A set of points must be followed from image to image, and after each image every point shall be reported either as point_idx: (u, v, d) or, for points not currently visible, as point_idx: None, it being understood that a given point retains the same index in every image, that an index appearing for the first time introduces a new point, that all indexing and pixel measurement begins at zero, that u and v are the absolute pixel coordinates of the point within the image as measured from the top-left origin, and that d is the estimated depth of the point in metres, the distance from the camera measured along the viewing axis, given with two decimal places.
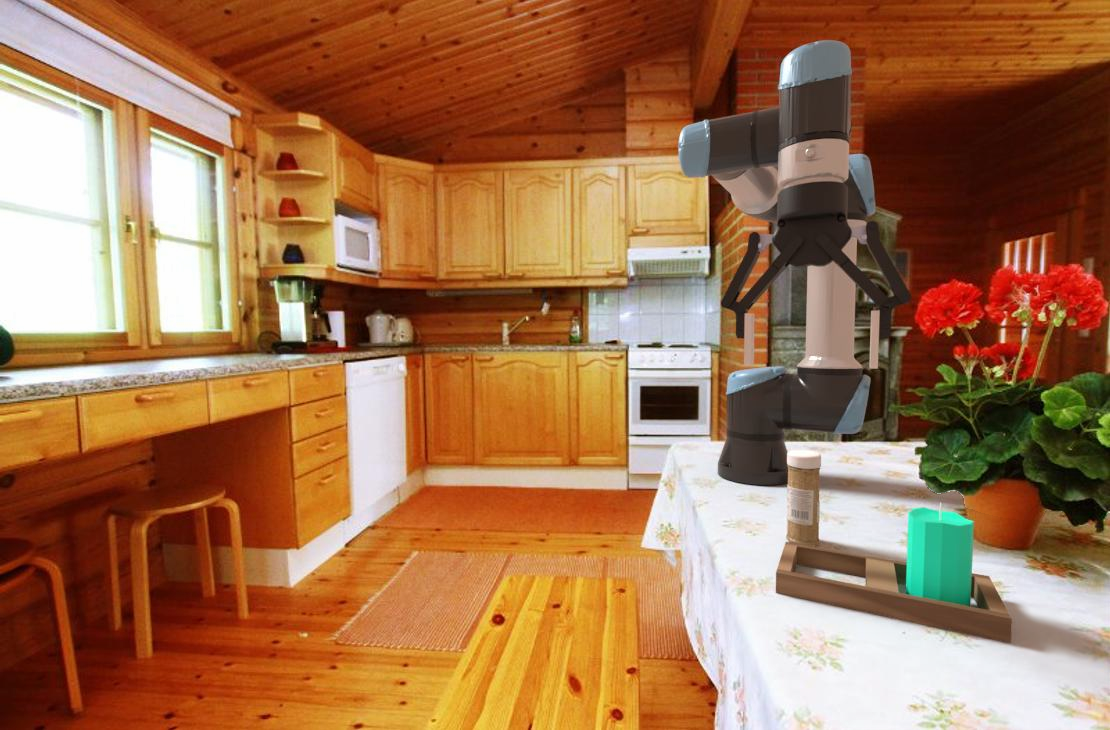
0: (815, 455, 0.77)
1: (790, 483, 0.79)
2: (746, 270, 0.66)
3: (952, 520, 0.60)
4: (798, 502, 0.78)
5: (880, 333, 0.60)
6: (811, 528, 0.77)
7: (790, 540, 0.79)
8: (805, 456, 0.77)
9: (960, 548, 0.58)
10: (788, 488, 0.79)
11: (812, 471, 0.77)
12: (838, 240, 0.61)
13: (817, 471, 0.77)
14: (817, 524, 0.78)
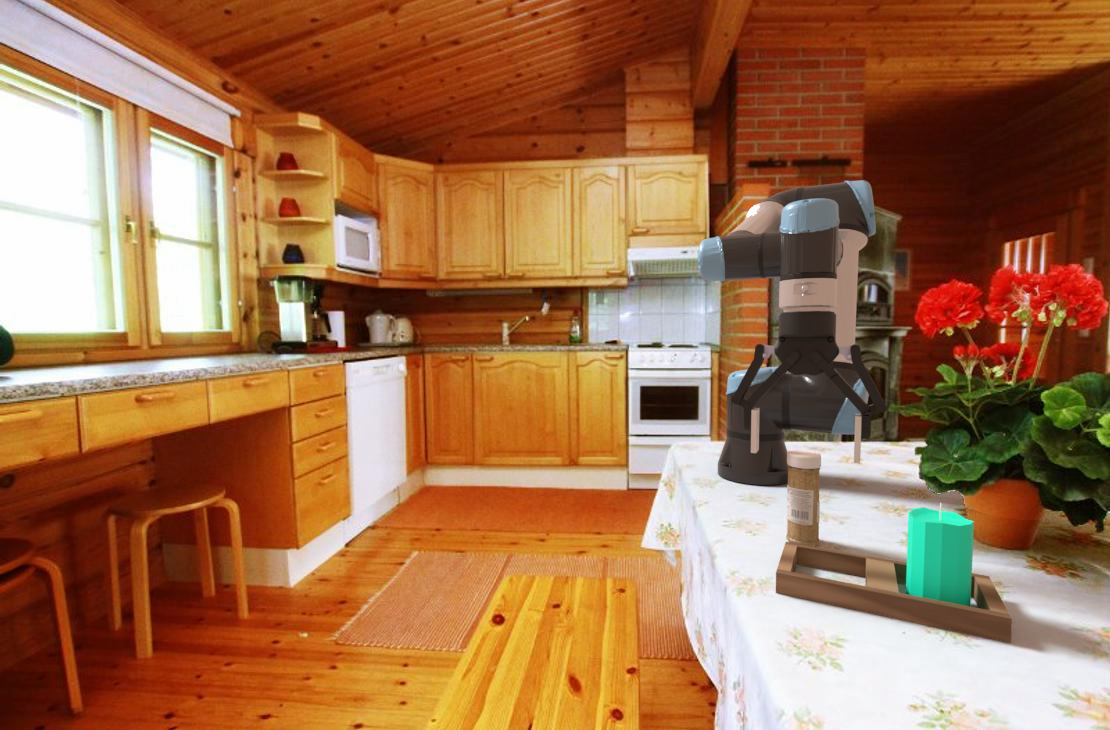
0: (815, 455, 0.77)
1: (790, 483, 0.79)
2: (753, 374, 0.80)
3: (952, 520, 0.60)
4: (798, 502, 0.78)
5: (862, 434, 0.74)
6: (811, 528, 0.77)
7: (790, 540, 0.79)
8: (805, 456, 0.77)
9: (960, 548, 0.58)
10: (788, 488, 0.79)
11: (812, 471, 0.77)
12: (828, 357, 0.75)
13: (817, 471, 0.77)
14: (817, 524, 0.78)
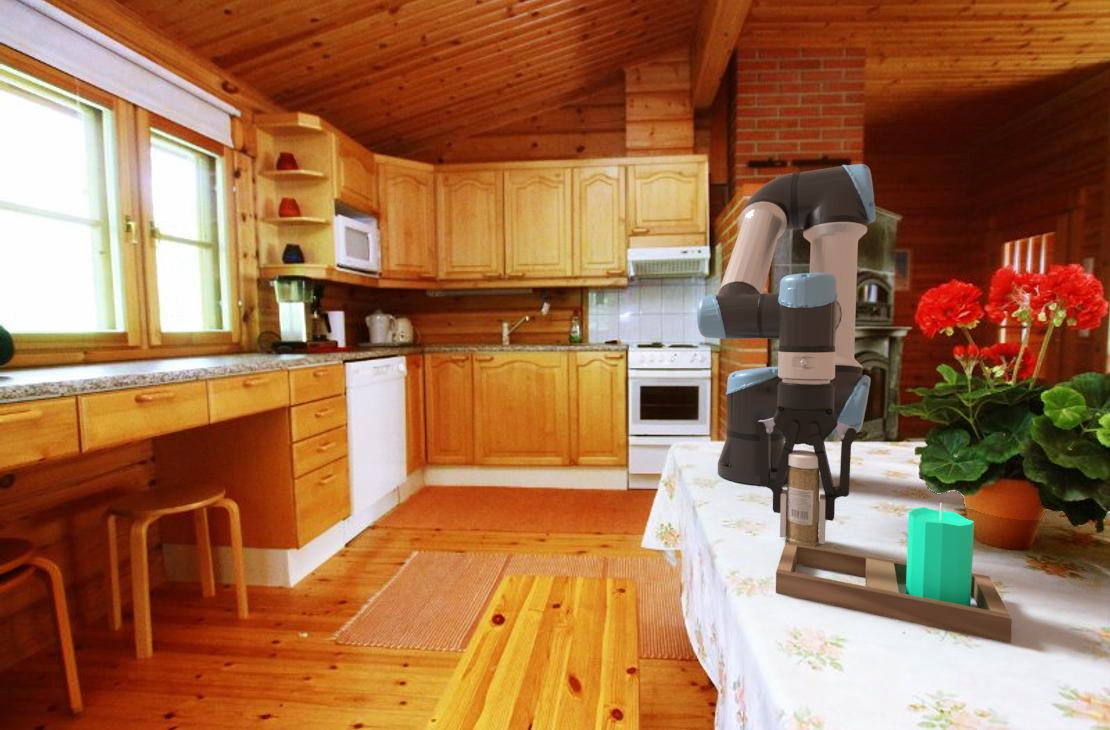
0: (815, 455, 0.77)
1: (790, 483, 0.79)
2: (767, 452, 0.80)
3: (952, 520, 0.60)
4: (798, 502, 0.78)
5: (826, 516, 0.77)
6: (811, 528, 0.77)
7: (790, 540, 0.79)
8: (805, 456, 0.77)
9: (960, 548, 0.58)
10: (788, 488, 0.79)
11: (812, 471, 0.77)
12: (823, 427, 0.76)
13: (817, 471, 0.77)
14: (817, 524, 0.78)
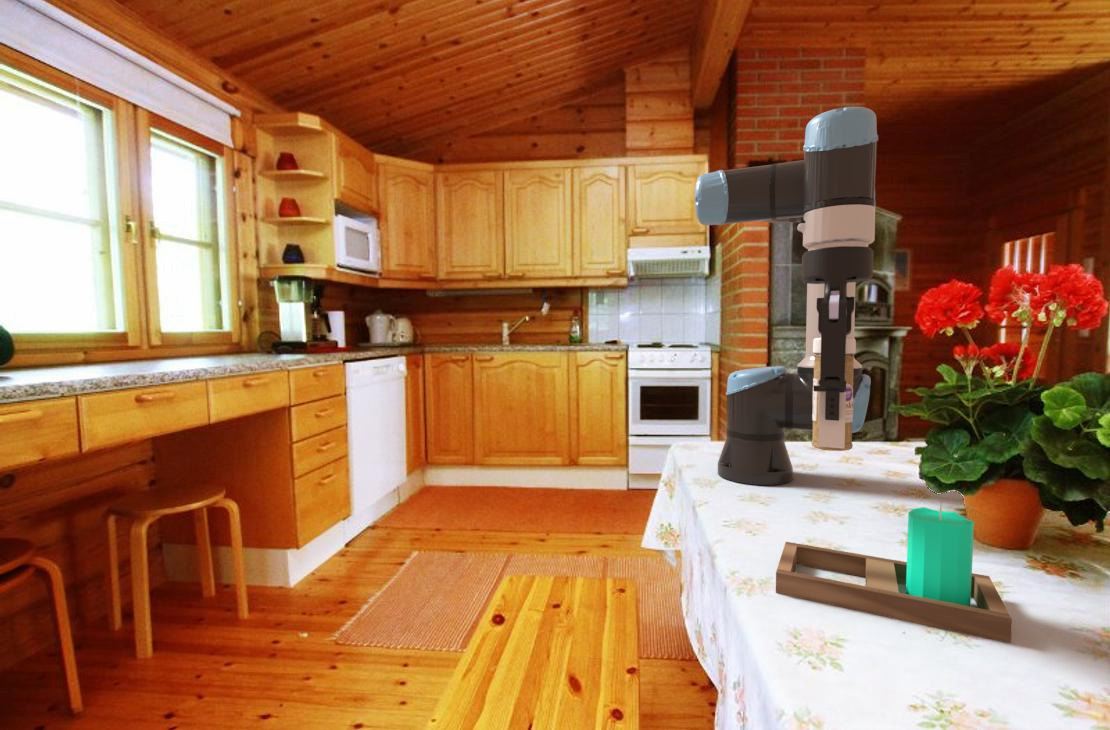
0: None
1: None
2: None
3: (952, 520, 0.60)
4: None
5: None
6: (816, 426, 0.65)
7: None
8: (815, 338, 0.65)
9: (960, 548, 0.58)
10: None
11: (816, 356, 0.64)
12: None
13: None
14: None
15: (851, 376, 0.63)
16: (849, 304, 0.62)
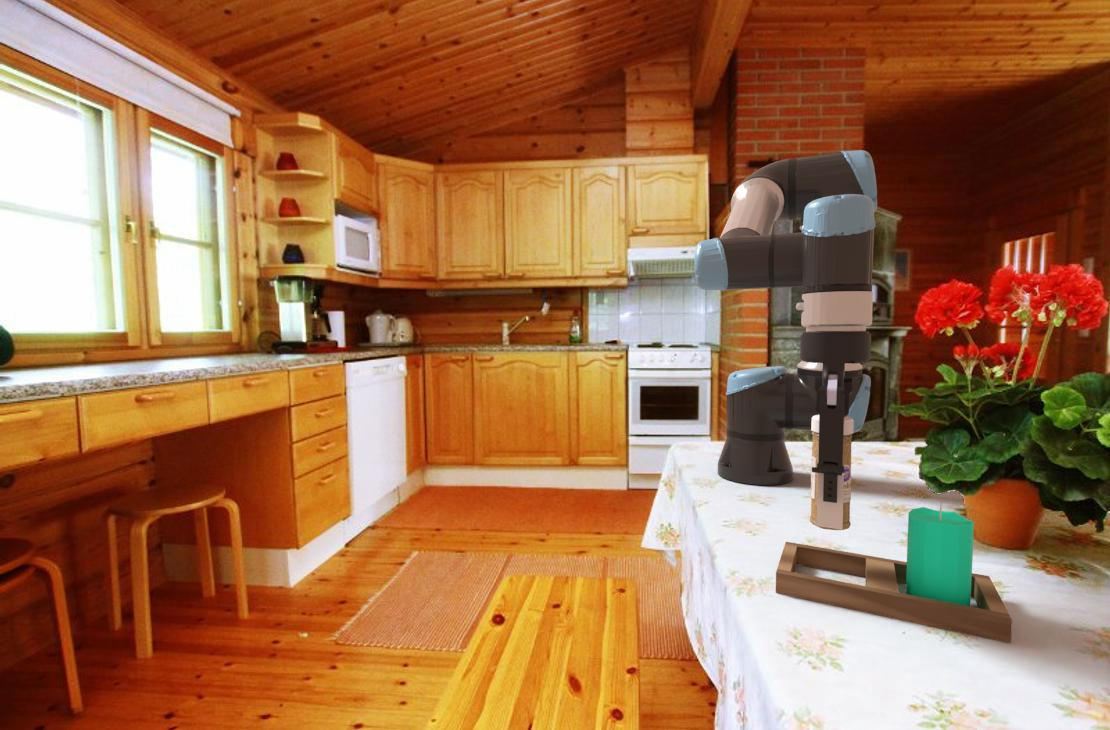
0: None
1: None
2: None
3: (952, 520, 0.60)
4: None
5: None
6: (814, 504, 0.65)
7: None
8: (813, 416, 0.66)
9: (960, 548, 0.58)
10: None
11: (815, 435, 0.65)
12: None
13: None
14: None
15: (849, 456, 0.64)
16: (846, 387, 0.62)
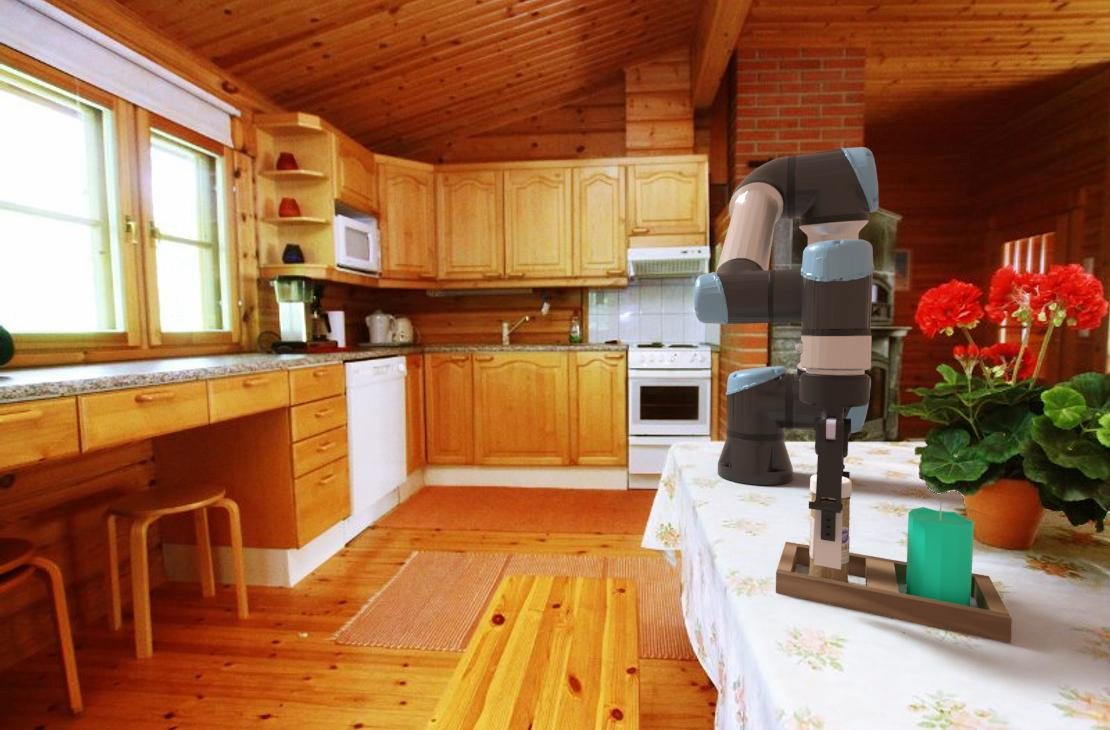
0: None
1: None
2: None
3: (952, 520, 0.60)
4: None
5: (821, 532, 0.60)
6: (813, 563, 0.66)
7: None
8: (812, 477, 0.66)
9: (960, 548, 0.58)
10: None
11: (813, 496, 0.66)
12: None
13: None
14: None
15: (847, 518, 0.64)
16: (845, 427, 0.63)
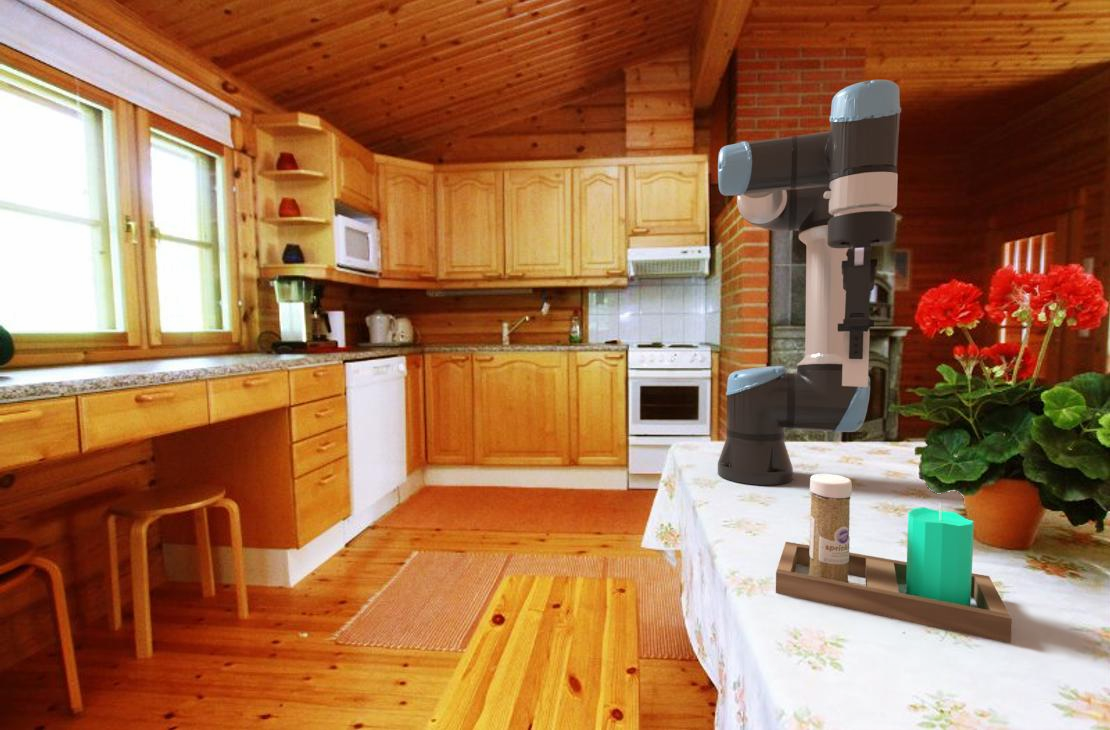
0: (821, 480, 0.65)
1: None
2: None
3: (952, 520, 0.60)
4: None
5: (849, 353, 0.64)
6: (813, 563, 0.66)
7: None
8: (812, 477, 0.66)
9: (960, 548, 0.58)
10: None
11: (813, 496, 0.66)
12: None
13: (820, 499, 0.65)
14: (821, 564, 0.65)
15: (847, 518, 0.64)
16: (872, 262, 0.67)
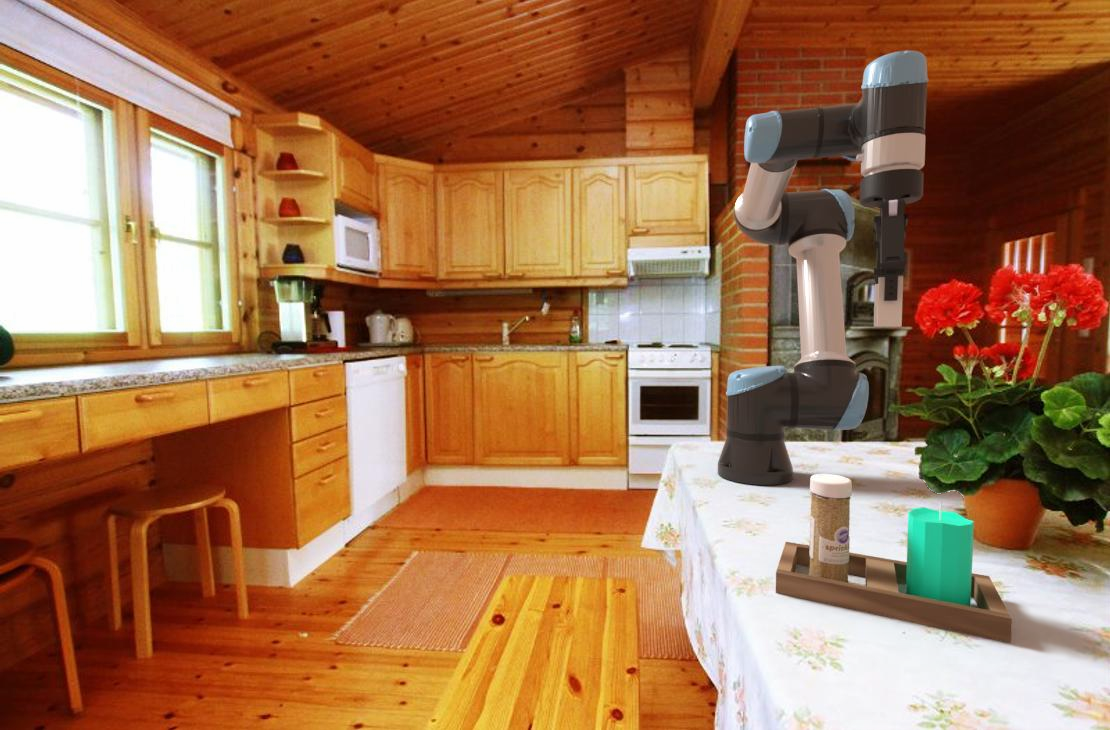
0: (821, 480, 0.65)
1: None
2: (877, 249, 0.82)
3: (952, 520, 0.60)
4: None
5: (884, 296, 0.70)
6: (813, 563, 0.66)
7: None
8: (812, 477, 0.66)
9: (960, 548, 0.58)
10: None
11: (813, 496, 0.66)
12: (881, 219, 0.73)
13: (820, 499, 0.65)
14: (821, 564, 0.65)
15: (847, 518, 0.64)
16: None
